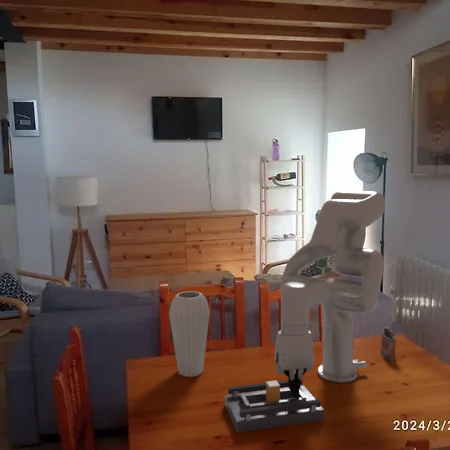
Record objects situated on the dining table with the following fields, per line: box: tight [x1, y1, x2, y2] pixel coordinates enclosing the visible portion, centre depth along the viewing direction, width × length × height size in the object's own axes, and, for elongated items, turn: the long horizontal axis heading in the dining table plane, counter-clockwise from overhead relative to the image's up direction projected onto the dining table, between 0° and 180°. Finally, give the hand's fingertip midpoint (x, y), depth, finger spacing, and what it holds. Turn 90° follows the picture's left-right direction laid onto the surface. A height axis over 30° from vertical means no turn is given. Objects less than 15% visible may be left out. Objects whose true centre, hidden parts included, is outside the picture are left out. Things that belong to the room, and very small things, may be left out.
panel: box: [224, 384, 325, 434], centre depth 128 cm, size 24×14×5 cm, turn 103°
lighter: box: [380, 326, 397, 361], centre depth 165 cm, size 8×3×10 cm, turn 6°
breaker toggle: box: [265, 380, 280, 402], centre depth 128 cm, size 3×3×5 cm
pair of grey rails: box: [227, 379, 322, 421], centre depth 128 cm, size 22×14×2 cm, turn 103°
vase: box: [168, 290, 211, 378], centre depth 153 cm, size 13×13×26 cm
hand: (294, 391), depth 129 cm, fingers closed
